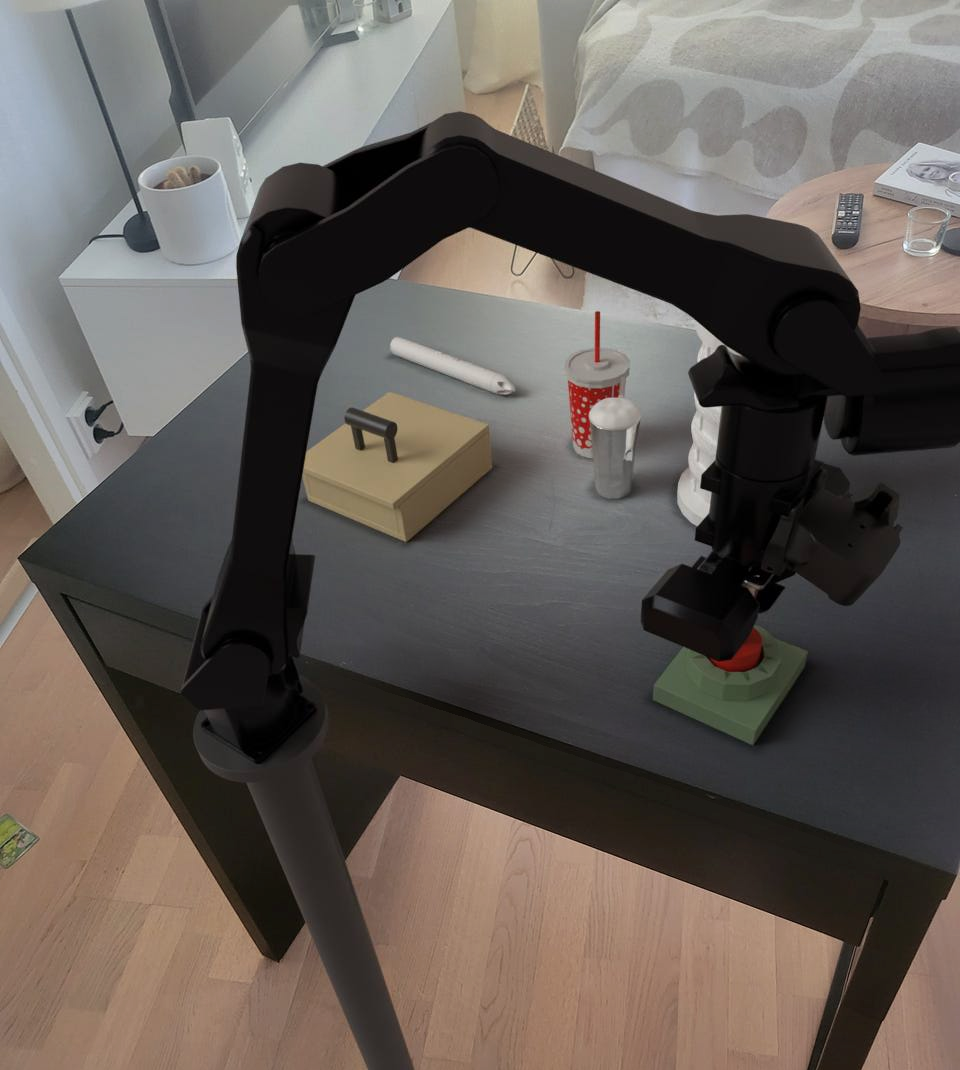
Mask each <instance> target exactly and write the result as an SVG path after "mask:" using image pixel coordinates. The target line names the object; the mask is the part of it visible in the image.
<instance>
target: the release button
mask: <svg viewBox="0 0 960 1070" xmlns="http://www.w3.org/2000/svg"><path fill="white" fill-rule="evenodd" d="M761 647H762V637H761V635H760V633H759V632H758V630H756V629H755V628H754V627H753V629H752V632H751V634H750V635H749V637H748V638H747V639H746V641H745V642H744V644H743V645H742V646H741V648H740V649H739V650H738V652H737V653H736V654H735V656H734V657H733V659H732V660H726V661H720V662H718V661H716V660H714V659H711V658H710V660H711V662H712V663H713V664H714V665H715V666H716V667H718V668H720V669H723V670H725V671H727V672H746V671H749V670H751V669H753V668H754V667H755V666H756V665H757V663H758V661H759V657H760V652H761Z"/></svg>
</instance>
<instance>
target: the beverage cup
mask: <svg viewBox="0 0 960 1070" xmlns="http://www.w3.org/2000/svg"><path fill="white" fill-rule="evenodd" d="M564 360H565V361H564V366H563V367H564V376H565V377H566V379H567V387H568V388H567V389H568V399H569V400H568V401H569V411H570V424H571V436H572V447H573V449H574V451H575V453H576V454H577V455H579V456H581V457H583V458H587V459H592V460H593V450H592V439H591V430H590V421H589V412H590V410H591V409H592V407H593V406H594V405H595V404H596V403H598V402H599V401H601V400H603V399H606V398H618V397H619V388H620V379H621V377H626V379H627V378H628V377H629V376H630V369H631V360H630V358H629V357H628V355H627V354H626V353H623V352H622V351H619V350H618V349H614V348H608V347H601V311H599V310H597V311H594V347H589V348H584V349H580V350H577V351H575V352H573V353H571V354H570V355H569V356H568V357H567V358H566V359H564ZM626 382H627V381H626ZM626 382H625V385H626ZM625 391H626V390H625ZM625 391H624V395H625V394H626V392H625Z"/></svg>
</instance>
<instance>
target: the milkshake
mask: <svg viewBox="0 0 960 1070" xmlns="http://www.w3.org/2000/svg"><path fill="white" fill-rule="evenodd" d="M625 382H627V378H626V377H621V379H620V388H619V397H618V398H606V399H603V400H601V401H599V402H598V403H596V404H595V405H594V406H593V407H592V409H591V410H590V412H589V421H590V430H591V439H592V450H593V459H592V460H593V474H594V487H595V491H596V492H597V493H598V496H600V497H603V498H606V499H609V500H610V499H613V500H615V499H621V498H624V497H625V496H627V495H629V493H630V490H631V488H632V482H633V473H634V468H635V467H634V466H635V458H636V450H637V445H638V437H639V431H640V426H641V419H642V410H641V408H640V407H639V405H638V404H637V403H636V402H634V401H633V400H631V399H627V398H625V394H624V391H626V384H625Z"/></svg>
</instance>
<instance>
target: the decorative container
mask: <svg viewBox="0 0 960 1070" xmlns="http://www.w3.org/2000/svg"><path fill="white" fill-rule="evenodd" d="M695 321H696V320H695ZM695 326H696V327H695V328H696V335H697V336H698V338H699V339H700V341H701V342H702V344H701V346H700V348H699V351H698V354H697V356H696V357H697V358H696V360H697V362H696V363H698V362H699V361H701V360H702V359H704V358H706V357H708V356H710V355H711V354H712V353H713V352H714V351H715V350H716V349H717V347H718V346H720V345H724V344H723V343H722V342H721V341H719V340H718V339H717V338H716V337H715V336H713V335H712V334H711V333H710V332H709V331H708V330H706V329H705V328H704V327H703V326H702V325H700V324H699V323H698V322H697V321H696V322H695ZM725 346H726V345H725ZM726 347H727V346H726ZM727 348H728V350H729V351H730V352H731V353H733V354H735V355H740V354H739V353H737V352H735V351H734V350H732V349H730V348H729V347H727ZM693 397H694V398H693V399H694V404H695V408H696V411H695V413H694V416H693V417H692V421H691V425H690V429H691V431H690V432H691V436H692V441H693V442H692V445H691V447H690V449H689V451H688V456H687V458H688V467H687V468H686V469H685V470H684V471H683V472H682V473H681V475H680V478H679V480H678V483H677V492H676V500H677V506H678V508H679V510H680V512H681V514H682V515H683V516H684V517H685V518H686V519H687V520H688V521H689V522H690V523H691V524H692V525H694V526H695V527H697V526H698V525H699V524H700V523H701V522H702V521H703V519H704V518H705V517H706V516H707V515H708V514H709V510H710V501H711V492H710V491H707V490H703V489H700V484H701V475H702V474H703V473H704V472H705V470H706V469H707V468H708V467H709V466H710V465H711V464H712V463H713V462H714V461H715V458H716V450H717V441H718V433H719V424H720V416H721V407H722V406H719V407H708V408H704V407H701V406H700V405H699V402H698V399H697V397H696V394H695V391H694V390H693Z"/></svg>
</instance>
